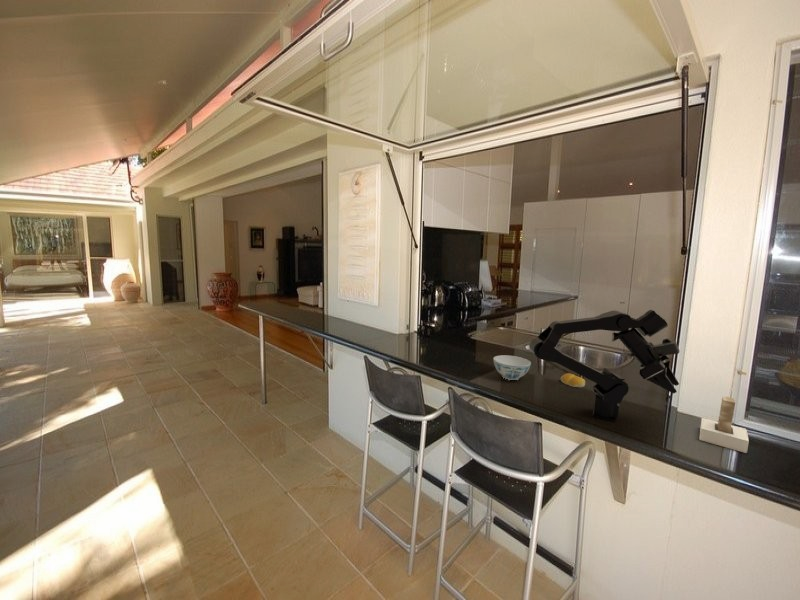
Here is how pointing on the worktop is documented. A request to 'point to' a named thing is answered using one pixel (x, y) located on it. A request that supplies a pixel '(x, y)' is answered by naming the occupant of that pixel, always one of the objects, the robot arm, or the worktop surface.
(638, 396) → the worktop surface
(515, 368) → the chinaware
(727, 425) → the slat
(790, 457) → the worktop surface
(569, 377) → the bread roll
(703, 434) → the end cap
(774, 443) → the worktop surface
